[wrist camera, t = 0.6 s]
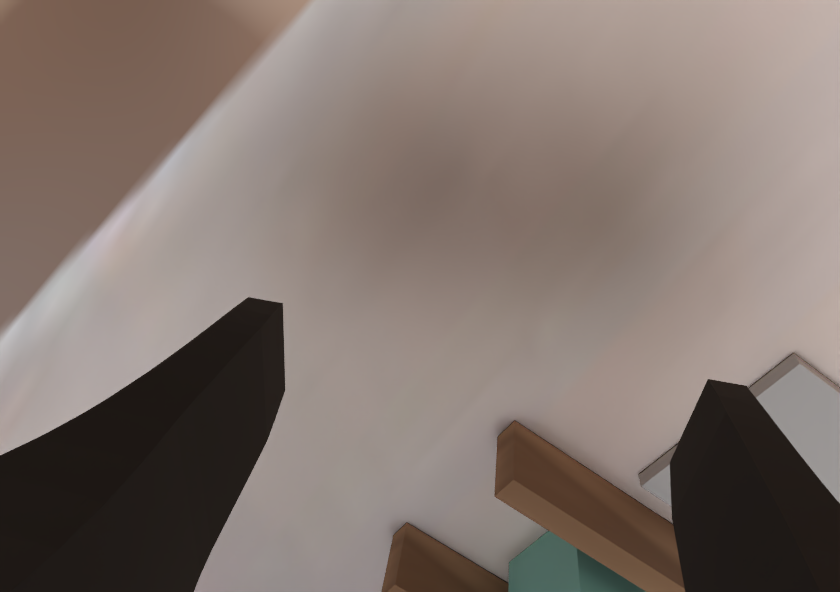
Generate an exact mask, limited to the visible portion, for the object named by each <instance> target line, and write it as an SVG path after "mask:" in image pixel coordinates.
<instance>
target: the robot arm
mask: <svg viewBox="0 0 840 592" xmlns="http://www.w3.org/2000/svg"><path fill="white" fill-rule="evenodd" d="M284 392H285V369H284V334H283V303H277V302H272V301H266V300H260V299H255V298H249V297H248V298H247V299H246V300H244V301H243V302H241V303H240V304H239V305H237V306H236V307H235V308H233V309H232V310H231V311H229V312H228V313H227V314H225V315H224V316H223V317H222V318H220V319H219V320H218V321H216V322H215V323H214V324H213V325H211V326H210V327H209V328H207V329H206V330H205V331H203V332H202V333H201V334H199V335H198V336H197V337H196V338H194V339H193V340H192V341H190V342H189V343H188V344H186V345H185V346H183V347H182V348H181V349H179V350H178V351H177V352H175V353H174V354H172V355H171V356H170V357H168V358H167V359H166V360H164V361H163V362H161V363H160V364H159V365H157V366H156V367H154V368H153V369H152V370H150V371H149V372H147V373H146V374H144V375H143V376H141V377H140V378H138V379H137V380H135V381H134V382H132V383H131V384H129V385H128V386H126V387H125V388H123V389H122V390H120V391H118V392H117V393H115V394H114V395H112V396H111V397H109V398H108V399H106V400H105V401H103V402H101V403H100V404H98V405H96V406H95V407H93V408H91V409H90V410H88V411H86V412H85V413H83V414H81V415H79V416H77V417H76V418H74V419H72V420H70V421H68V422H66V423H65V424H63V425H61V426H59V427H57V428H55V429H54V430H52V431H50V432H48V433H46V434H44V435H42V436H40V437H38V438H36V439H34V440H32V441H30V442H28V443H26V444H24V445H22V446H19V447H17V448H15V449H13V450H11V451H9V452H7V453H5V454H3V455H0V592H194V590H195V587H196V584H197V582H198V579H199V577H200V574H201V572H202V570H203V568H204V566H205V563H206V561H207V559H208V557H209V555H210V552H211V550H212V548H213V546H214V544H215V542H216V540H217V538H218V536H219V535H220V533H221V531H222V529H223V527H224V525H225V523H226V521H227V519H228V517H229V515H230V513H231V511H232V509H233V507H234V505H235V503H236V501H237V499H238V497H239V495H240V493H241V491H242V490H243V488H244V486H245V484H246V482H247V480H248V478H249V476H250V474H251V472H252V470H253V468H254V466H255V464H256V462H257V460H258V458H259V456H260V454H261V452H262V450H263V448H264V446H265V444H266V442H267V439H268V437H269V434H270V431H271V429H272V426H273V423H274V421H275V418H276V415H277V412H278V409H279V406H280V403H281V400H282V398H283V395H284ZM670 486H671V506H672V520H673V526H674V532H675V538H676V544H677V549H678V555H679V560H680V566H681V571H682V577H683V582H684V588H685V592H840V503H839V502H838V501H837V500H836V499H835V497H834V496H833V495H832V494H831V493H830V491H829V490H828V489H827V488H826V486H825V485H824V484H823V483H822V482H821V480H820V479H819V478H818V477H817V475H816V474H815V473H814V472H813V470H812V469H811V468H810V467H809V465H808V464H807V463H806V462H805V460H804V459H803V458H802V457H801V455H800V454H799V453H798V452H797V450H796V449H795V448H794V446H793V445H792V444H791V443H790V441H789V440H788V439H787V437H786V436H785V435H784V434H783V432H782V431H781V430H780V428H779V427H778V426H777V424H776V423H775V422H774V421H773V419H772V418H771V417H770V415H769V414H768V413H767V411H766V410H765V409H764V408H763V406H762V405H761V404H760V402H759V401H758V400H757V399H756V397H755V396H754V395H753V394H752V392H751V391H750V390H749V389H748V388H747V386H744V385H738V384H732V383H727V382H721V381H716V380H710V379H708V381H707V383H706V385H705V387H704V389H703V391H702V394H701V396H700V398H699V400H698V402H697V404H696V406H695V409H694V411H693V413H692V415H691V417H690V419H689V422H688V424H687V426H686V428H685V430H684V432H683V435H682V437H681V439H680V441H679V443H678V445H677V448H676V450H675V452H674V454H673V456H672V458H671V461H670Z"/></svg>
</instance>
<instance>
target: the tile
mask: <svg viewBox="0 0 840 592" xmlns="http://www.w3.org/2000/svg"><path fill="white" fill-rule="evenodd" d="M749 390H750V391H751V392H752V394H753V395H754V396H755V397H756V399H757V400H758V401H759V402H760V404H761V405H762V406H763V408H764V409H765V410H766V411H767V413H768V414H769V415H770V417H771V418H772V419H773V421H774V422H775V423H776V424H777V426H778V427H779V428H780V430H781V431H782V432H783V434H784V435H785V436H786V437H787V439H788V440H789V441H790V443H791V444H792V445H793V446H794V448H795V449H796V450H797V452H798V453H799V454H800V455H801V457H802V458H803V459H804V460H805V462H806V463H807V464H808V465H809V467H810V468H811V469H812V470H813V472H814V473H815V474H816V475H817V477H818V478H819V479H820V480H821V482H822V483H823V484H824V485H825V486H826V488H827V489H828V490H829V491H830V493H831V494H832V495H833V496H834V497H835V499H836V500H837V501H838V502H839V503H840V388H839V387H838V386H837V385H835V384H834V383H833V382H831V381H830V380H829V379H827V378H826V377H825V376H823V375H822V374H821V373H819V372H818V371H817V370H815V369H814V368H813V367H811V366H810V365H809V364H807V363H806V362H805V361H803V360H802V359H801V358H799V357H798V356H797V355H795V354H794V353H793V354H792V355H791V356H789V357H788V358H787V359H785V360H784V361H783V362H782V363H780V364H779V365H778V366H777V367H775V368H774V369H773V370H771V371H770V372H769V373H768V374H766V375H765V376H764V377H763V378H761V379H760V380H759V381H757V382H756V383H755V384H754V385H752V386H751V387H750V388H749ZM677 445H678V444H677ZM677 445H676V446H675V447H673V448H672V449H671V450H670V451H668V452H667V453H666V454H665V455H663V456H662V457H661V458H659V459H658V460H657V461H656V462H654V463H653V464H652V465H651V466H649V467H648V468H647V469H645V470H644V471H643V472H642V473H640V474H639V479H640V484H641V487H642V488H644V489H645V490H647V491H648V492H650V493H651V494H653V495H654V496H656V497H657V498H659V499H660V500H662V501H663V502H665V503H666V504H668V505H669V506H671V486H670V461H671V458H672V456H673V454H674V452H675V450H676V448H677ZM671 507H672V506H671Z"/></svg>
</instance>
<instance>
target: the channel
mask: <svg viewBox="0 0 840 592" xmlns="http://www.w3.org/2000/svg"><path fill="white" fill-rule="evenodd" d="M495 497H496V498H498V499H499V500H501V501H503V502H504V503H506V504H507V505H509V506H510V507H512V508H514V509H515V510H517V511H518V512H520V513H522V514H523V515H525V516H526V517H528V518H530V519H531V520H533V521H534V522H536V523H538V524H539V525H541V526H542V527H544V528H546V529H547V530H549V531H550V532H552V533H553V534H555V535H557V536H558V537H560V538H561V539H563V540H565V541H566V542H568V543H569V544H571V545H573V546H574V547H576V548H577V549H579V550H581V551H582V552H584V553H585V554H587V555H589V556H590V557H592V558H593V559H595V560H596V561H598V562H600V563H601V564H603V565H604V566H606V567H608V568H609V569H611V570H612V571H614V572H616V573H617V574H619V575H620V576H622V577H624V578H625V579H627V580H628V581H630V582H632V583H633V584H635V585H636V586H638V587H639V588H641V589H643V590H644V591H646V592H685V588H684V582H683V577H682V571H681V566H680V560H679V555H678V549H677V544H676V538H675V532H674V526H673V525H672V524H671V523H669V522H668V521H666V520H665V519H663V518H662V517H660V516H659V515H657V514H656V513H654V512H653V511H651V510H650V509H648V508H647V507H645V506H644V505H642V504H641V503H639V502H637V501H636V500H634V499H633V498H631V497H630V496H628V495H627V494H625V493H624V492H622V491H621V490H619V489H618V488H616V487H615V486H613V485H612V484H610V483H609V482H607V481H606V480H604V479H603V478H601V477H599V476H598V475H596V474H595V473H593V472H592V471H590V470H589V469H587V468H586V467H584V466H583V465H581V464H580V463H578V462H577V461H575V460H574V459H572V458H571V457H569V456H568V455H566V454H565V453H563V452H561V451H560V450H558V449H557V448H555V447H554V446H552V445H551V444H549V443H548V442H546V441H545V440H543V439H542V438H540V437H539V436H537V435H536V434H534V433H533V432H531V431H530V430H528V429H527V428H525V427H523V426H522V425H520V424H519V423H517V422H516V421H514V422H513V423H512V424H511V425H510V426H509V427H508V428H507V429H505V430H504V431H503V432H502V433H501V434H500V435H499V436H498V439H497V459H496V478H495ZM508 587H509V584H508V583H506V582H504V581H503V580H501V579H499V578H498V577H496V576H494V575H493V574H491V573H489V572H488V571H486V570H484V569H483V568H481V567H479V566H478V565H476V564H474V563H473V562H471V561H470V560H468V559H466V558H465V557H463V556H461V555H460V554H458V553H456V552H455V551H453V550H451V549H450V548H448V547H446V546H445V545H443V544H441V543H440V542H438V541H436V540H435V539H433V538H431V537H430V536H428V535H426V534H425V533H423V532H421V531H420V530H418V529H416V528H415V527H413V526H411V525H410V524H408V523H406V524H405V525H404V526H403V527H402V528H401V529H400V530H399V531H398V532H397V533H396V534H394V535H393V540H392V545H391V549H390V554H389V559H388V564H387V568H386V573H385V578H384V583H383V587H382V592H508Z"/></svg>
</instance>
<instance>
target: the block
mask: <svg viewBox="0 0 840 592" xmlns="http://www.w3.org/2000/svg"><path fill="white" fill-rule="evenodd" d="M508 592H646V591H644V590H643V589H641V588H639V587H638V586H636V585H635V584H633V583H632V582H630V581H628V580H627V579H625V578H624V577H622V576H620V575H619V574H617V573H616V572H614V571H612V570H611V569H609V568H608V567H606V566H604V565H603V564H601V563H600V562H598V561H596V560H595V559H593V558H592V557H590V556H589V555H587V554H585V553H584V552H582V551H581V550H579V549H577V548H576V547H574V546H573V545H571V544H569V543H568V542H566V541H565V540H563V539H561V538H560V537H558V536H557V535H555V534H553V533H552V532H550V531H548V532H546V533H545V534H544V535H543V536H541V537H540V538H539V539H538V540H536V541H535V542H534V543H533V544H531V545H530V546H529V547H528V548H526V549H525V550H524V551H523V552H521V553H520V554H519V555H518V556H516V557H515V558H514V559H513V560H511V561H510V562H509V587H508Z"/></svg>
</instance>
